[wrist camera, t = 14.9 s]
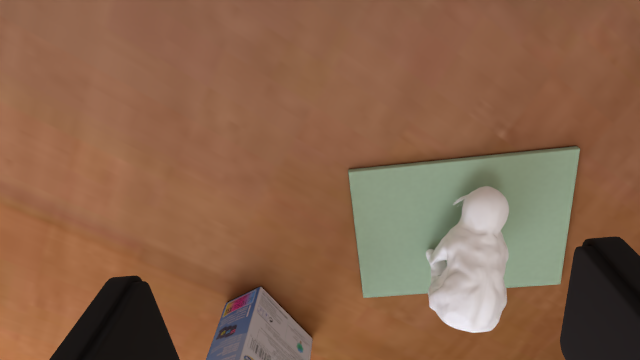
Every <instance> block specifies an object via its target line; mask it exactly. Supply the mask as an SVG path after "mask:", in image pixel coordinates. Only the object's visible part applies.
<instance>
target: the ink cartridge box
mask: <svg viewBox="0 0 640 360" xmlns="http://www.w3.org/2000/svg"><path fill="white" fill-rule="evenodd" d="M311 348H312V338H311V337H310V336H309V335H308V334H307V333H306V332H305V331H304V330H303V329H302V328H301V327H300V326H299V325H298V324H297V323H296V322H295V320H294V319H293V318H292V317H291V316H290V315H289V314H288V313H287V312H286V311H285V310H284V309H283V308H282V307H281V306H280V305H279V304H278V303H277V302H276V301H275V300H274V299H273V298H272V297H271V296H270V295H269V294H268V293H267V292H266V291H265V290H264V289H263V288H262V287H258V288H256V289H254V290H252V291H250V292H248V293H246V294H244V295H242V296H240V297H238V298H236V299H234V300H231V301H229V302H227V303H226V305H225V308H224V310H223V313H222V316H221V319H220V322H219V324H218V327H217V330H216V333H215V336H214V339H213V341H212V344H211V347H210V350H209V353H208V355H207V358H206V360H310V356H311Z"/></svg>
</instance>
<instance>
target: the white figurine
mask: <svg viewBox="0 0 640 360" xmlns="http://www.w3.org/2000/svg"><path fill="white" fill-rule="evenodd" d="M463 199H464V201H463V202H464V203H463V206H462V210H461V211H462V216H461V218H460V221H459V223H458V224H457V225H455V226H454V227H453V228H451V229H450V231H449V232H448V233H447V235H446V236H444V237H443V238H442V239H441V241H440V243H439V244H438V246H437V247H436V248H435V250H433V249H428V250H427V251H426V257H427V260H428V262H429V264H430V267H431V277H432V278H431V285H430V286H429V289H428V296H429V307H430V308H431V309H433V310H434V311H436V313H437V315H438V316H439V317H440V318H441V320H442V321H443V322H444V323H446V324H447V325H449V326H451V327H453V328H456V329H459V330H463V331H468V332H473V333H476V332H487V331H491V330H492V329H494V327H495V326H496V325H497V323H498V321H499V319H500V316H501V313H502V311H503V309H504V307H505V306H506V303H507V295H506V288H505V284H504V279H503V277H504V274H505V268H506V262H507V260H508V257H509V253H508V248H507V245H506V243H505V241H504V238H503V234H502V232H501V229H502V228H503V226H504V224H505V223H506V221H507V218H508V214H509V205H508V202H507V200H506V198H505V197H504V195H503V194H502V193H501V192H499V191H498V190H496V189H494V188H493V187H489V186H484V187H479V188H478V189H476V190H474V191H472V192H471V193H470V194H468V195H465V196H463V197H460V198H459V199H458V200H456V202H454V203H455V204H457V203H458V202H460V201H462V200H463ZM455 204H454V205H455ZM458 206H459V205H458ZM458 206H457V207H458ZM446 260H447V262H446Z"/></svg>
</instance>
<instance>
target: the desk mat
mask: <svg viewBox="0 0 640 360" xmlns="http://www.w3.org/2000/svg"><path fill="white" fill-rule="evenodd" d="M579 153H580V148H579V147H577V146H575V147H565V148H555V149H545V150H536V151H526V152H516V153H506V154H496V155H487V156H477V157H467V158H457V159H448V160H438V161H428V162H418V163H408V164H399V165H389V166H379V167H369V168H359V169H350V170H348V174H349V182H350V190H351V199H352V207H353V215H354V224H355V232H356V240H357V249H358V257H359V265H360V274H361V282H362V290H363V297H364V298H367V297H381V296H396V295H410V294H425V293H428V289H429V286H430V285H431V278H432V277H431V267H430V264H429V262H428V260H427V257H426V251H427V250H428V249H433V250H435V248H436V247H437V246H438V244H439V243H440V241H441V239H442V238H443V237H444V236H446V235H447V233H448V232H449V231H450V229H451V228H453V227H454V226H455V225H457V224H458V223H459V221H460V218H461V216H462V211H461V210H462V206H463V203H464V202H463V201H464V199H463V200H462V201H460V202H458V203H457V204H455V203H454V202H456V200H458V199H459V198H460V197H463V196H465V195H468V194H470V193H471V192H472V191H474V190H476V189H478V188H479V187H484V186H489V187H493V188H494V189H496V190H498V191H499V192H501V193H502V194H503V195H504V197H505V198H506V200H507V202H508V205H509V214H508V218H507V221H506V223H505V224H504V226H503V228H502V229H501V232H502V234H503V238H504V241H505V243H506V245H507V248H508V253H509V257H508V260H507V262H506V268H505V274H504V277H503V279H504V284H505V288H511V287H525V286H540V285H554V284H560V282H561V275H562V269H563V262H564V255H565V248H566V241H567V235H568V228H569V221H570V214H571V207H572V201H573V194H574V187H575V180H576V173H577V167H578V160H579ZM454 204H455V205H454ZM458 205H459V206H458ZM457 206H458V207H457ZM446 262H447V260H446Z"/></svg>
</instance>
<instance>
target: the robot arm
mask: <svg viewBox="0 0 640 360" xmlns="http://www.w3.org/2000/svg"><path fill="white" fill-rule="evenodd" d="M560 345H561V350H562V353H563V355H564V357H565V359H566V360H640V256H639V255H638V254H637V253H636V252H635V251H634V250H633V249H632V248H631V247H630V246H629V245H628V244H627V243H626V242H625V241H624V240H623V239H621V238H620V237H604V238H592V239H586V240H585V241H584V242H583V245H582V246H581V247H577V248H576V249H575V252H574V257H573V263H572V269H571V276H570V282H569V288H568V294H567V300H566V306H565V312H564V318H563V325H562V331H561V337H560ZM50 360H180V359H179V357H178V354H177V352H176V350H175V347H174V345H173V342H172V340H171V337H170V335H169V333H168V330H167V328H166V325H165V323H164V320H163V318H162V316H161V313H160V311H159V308H158V306H157V303H156V301H155V298H154V296H153V294H152V291H151V289H150V286H149V285H148V283H147V282H144V281H142V280H141V278H140V277H138V276H125V277H113V278H111V279H109V280H108V281H107V282H106V283H105V285H104V286H103V287H102V289H101V290H100V292H99V293H98V294H97V296H96V297H95V298H94V300H93V301H92V302H91V304H90V305H89V307H88V308H87V309H86V311H85V312H84V313H83V315H82V316H81V317H80V319H79V320H78V321H77V323H76V324H75V326H74V327H73V328H72V330H71V331H70V332H69V334H68V335H67V336H66V338H65V339H64V341H63V342H62V343H61V345H60V346H59V347H58V349H57V350H56V351H55V353H54V354H53V355H52V357H51V358H50Z"/></svg>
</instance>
